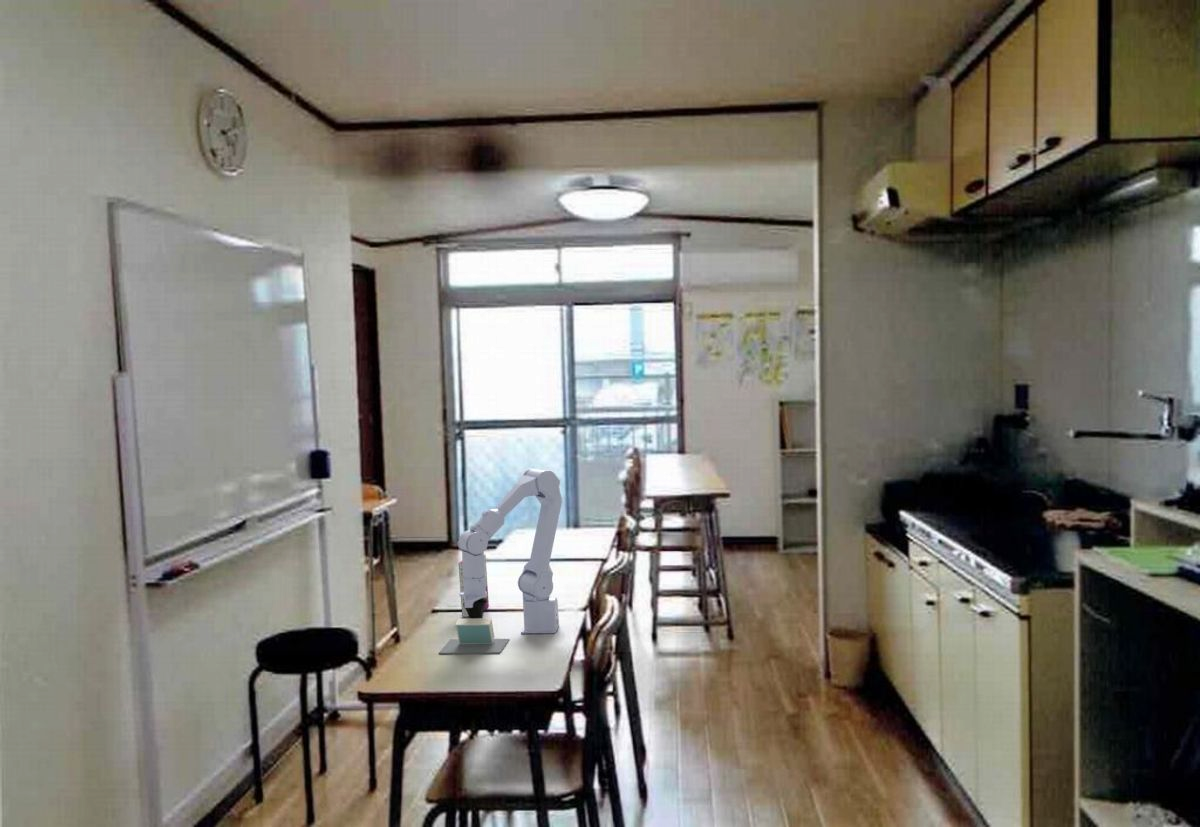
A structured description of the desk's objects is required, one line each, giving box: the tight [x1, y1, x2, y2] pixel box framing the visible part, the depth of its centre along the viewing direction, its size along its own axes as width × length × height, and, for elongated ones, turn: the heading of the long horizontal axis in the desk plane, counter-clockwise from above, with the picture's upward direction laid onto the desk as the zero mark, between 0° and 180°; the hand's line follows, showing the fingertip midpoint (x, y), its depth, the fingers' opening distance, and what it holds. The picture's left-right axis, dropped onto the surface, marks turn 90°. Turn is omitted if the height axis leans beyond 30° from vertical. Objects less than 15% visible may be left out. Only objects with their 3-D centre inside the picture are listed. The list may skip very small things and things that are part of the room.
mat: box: [438, 638, 510, 655], centre depth 229 cm, size 16×11×1 cm
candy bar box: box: [458, 553, 490, 618], centre depth 262 cm, size 11×5×16 cm, turn 168°
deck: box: [455, 617, 496, 644], centre depth 230 cm, size 9×2×6 cm, turn 84°
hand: (476, 627), depth 232 cm, fingers closed
